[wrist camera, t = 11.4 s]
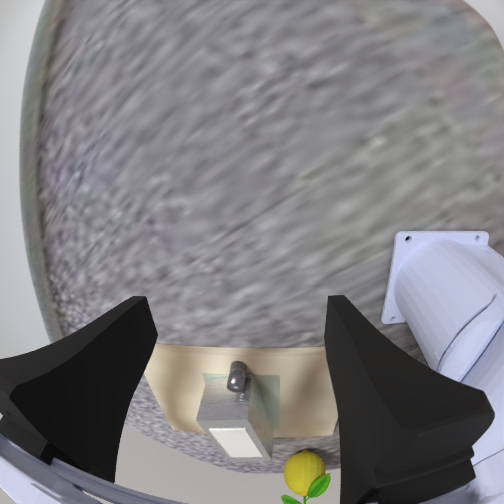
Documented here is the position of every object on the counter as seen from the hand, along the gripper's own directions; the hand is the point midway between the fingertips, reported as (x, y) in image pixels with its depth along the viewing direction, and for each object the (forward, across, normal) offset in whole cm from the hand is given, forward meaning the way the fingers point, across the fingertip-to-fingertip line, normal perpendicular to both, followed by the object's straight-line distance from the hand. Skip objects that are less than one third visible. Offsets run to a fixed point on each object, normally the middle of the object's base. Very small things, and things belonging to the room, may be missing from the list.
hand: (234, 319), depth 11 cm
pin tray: (+9, +2, +18) cm, 20 cm away
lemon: (+10, -5, +32) cm, 34 cm away
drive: (+8, +2, +18) cm, 19 cm away
